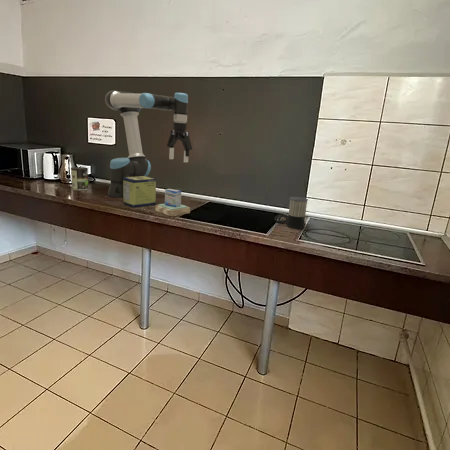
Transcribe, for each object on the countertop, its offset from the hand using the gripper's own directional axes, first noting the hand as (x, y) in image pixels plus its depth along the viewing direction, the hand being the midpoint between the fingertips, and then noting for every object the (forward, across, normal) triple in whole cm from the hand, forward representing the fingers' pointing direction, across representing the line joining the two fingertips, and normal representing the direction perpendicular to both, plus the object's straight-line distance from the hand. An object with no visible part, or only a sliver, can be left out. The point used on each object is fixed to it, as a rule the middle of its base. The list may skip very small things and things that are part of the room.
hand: (178, 160), depth 192 cm
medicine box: (+22, +14, -13) cm, 29 cm away
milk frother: (+25, +65, +24) cm, 73 cm away
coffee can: (+27, -66, -30) cm, 77 cm away
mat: (+23, +14, -13) cm, 30 cm away
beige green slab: (+26, +14, -13) cm, 32 cm away
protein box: (+26, -10, -19) cm, 34 cm away
